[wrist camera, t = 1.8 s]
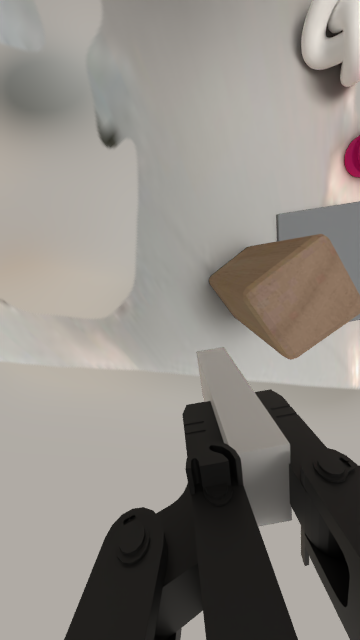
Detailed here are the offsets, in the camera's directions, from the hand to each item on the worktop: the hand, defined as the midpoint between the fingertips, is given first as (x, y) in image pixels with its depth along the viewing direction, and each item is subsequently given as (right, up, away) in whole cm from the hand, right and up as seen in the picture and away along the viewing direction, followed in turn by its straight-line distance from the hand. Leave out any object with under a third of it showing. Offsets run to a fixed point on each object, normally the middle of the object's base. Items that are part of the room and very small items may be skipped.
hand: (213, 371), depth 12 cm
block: (+10, +10, +29) cm, 33 cm away
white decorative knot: (+22, +44, +21) cm, 53 cm away
